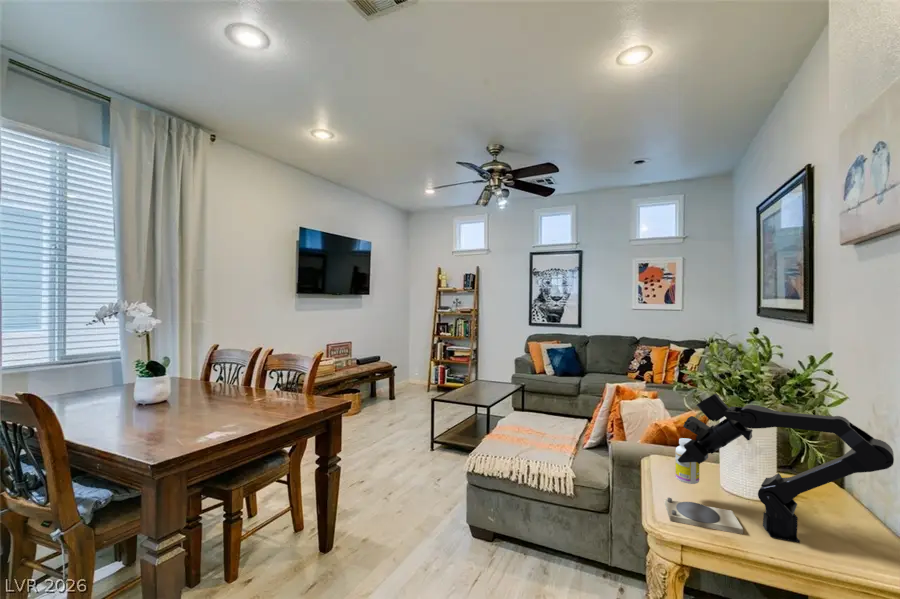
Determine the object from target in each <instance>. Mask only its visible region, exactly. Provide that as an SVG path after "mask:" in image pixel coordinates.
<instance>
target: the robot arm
mask: <svg viewBox="0 0 900 599" xmlns="http://www.w3.org/2000/svg"><path fill="white" fill-rule="evenodd" d="M695 406H696V407H697V408H698V409H699V410H700V411H701V412H702V414H703V415H705V417H706V418H707V419H708V421H712V422H718V421H719V420H721V419H723V418H725V419H723V420H721V421H720V422H718V423H717V424H715V425H711V426H708V425H707V424H706V423H705V422H703V421H701V420H700V419H698V418H697V417H695V416H693V415H691V416H689V417H688V418H687V419H686V420H685V421H684V424H683V428H685V430H688V431H690V432H691V433H693V434H695V435H696V436H695V439H692V440H691V441H689V442H687V443H686V444H685V445H684V447H685V449H686V451H685V452H684V453H683V454H682V455H681V456H680V458H679V459H678V461H679V462H680V463H686V462H697V463H699V465H701V464H702V463H704V462H705V461H706V460H708V458H709V454H711V455H712V454H714V453H716V451H718V450H720V449H721V448H725V447H726V446H727V445H728V444H730V443H731V442H733V441H735V440H736V439H738V438H740V437H741V436H743V438H745V439H746V440H747V441H750V440H751V439H752V438H753V429H757V430H758V429H768V428H769V429H770V428H786V429H795V430H802V431H811V432H821V433H828V434H829V433H830V434H835V436H837V437H838V438H839V439H840V440H842V441H843V442H844V443H845V444H846V445H847V446H848V447H849V448H850V449H849V451H847V452H845V454H844V455H842V456H840V457H837V458H834V459H832V460H830V461H827V462H825V463H822V464H820V465H817V466H814V467H812V468H809V469H807V470H805V471H803V472H800V473H798V474H795V475H792V476H789V477H788V476H787V477H783V476H781V473H779V472H778V473H776V474H774V475H773V476H770V477H765V479H764V480H763V482H762V483H761V487H760V488H759V489H758V492H757V497H758V499H759V500H760V502H761V503H762V504H763V505H764V507H765V511H764V512H763V513H762V527H763V528H764V529H765V531H766V532H767V534H768V536H770V537H771V538H772V539H777V540H783V541H788V542H793V543H801V540H800V539H799V538H798V516H797V515H796V514H795V511H796V510H797V507H798V503H797V502H796V501H795V500H794V499H795V498H796V497H798V496H799V495H801V494H803V493H805V492H808V491H810V490H813V489H816V488H819V487H822V486H823V485H827V484H829V483H832V482H835V481H838V480H840V479H843V478H844V477H845V478H847V477H848V476H850V475H853V474H859V473H872V472H878V471H882V470H888V469H889V468H891V467H892V466H893V465H894V460H895V459H894V458H895V456H894V450H893V448H892V447H891V445H890V444H889V443H887V442H886V441H883V440H881V439H877V438H874V437H873V436H871V435H870V434H869V433H868V432H866V431H864V430H863V429H861V428H859V427H858V426H857V425H855V424H854V423H852V422H851V421H849V420H848V419H847V418H846V417H844V416H840V415H836V416H834V415H833V416H832V415H830V416H829V415H822V414H821V415H820V414H808V413H800V412H799V413H797V412H787V411H778V410H774V409H771V408H768V407H764V406H761V405H756V404H747V405H744V406H730V407H729V406H728V405H727V404H726V403H725V402H724V401H723V400H722V398H721V397H720V395H718V393H713V394H711V395H710V396H708V397H706V398H704V399H703V400H701V401H700V402H698V403H697V404H696V405H695Z"/></svg>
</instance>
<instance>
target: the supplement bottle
mask: <svg viewBox="0 0 900 599" xmlns="http://www.w3.org/2000/svg"><path fill="white" fill-rule="evenodd" d="M691 440H693V439H691V438H685V437H684V438H683V437H680V438H679V439H678V444H679V445H678V446H676V448H675V477H676V480H679V481H680V482H681V483H684V484H689V485H695V484H698V483H699V482H700V464H699V463H697V462H686V463H680V462H679V461H678V459H679V458H680V456H681V455H682V454H683V453H684V452H685V451H686V449H685V447H684V445H685V444H686V443H687V442H689V441H691Z"/></svg>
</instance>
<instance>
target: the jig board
mask: <svg viewBox="0 0 900 599" xmlns="http://www.w3.org/2000/svg"><path fill="white" fill-rule="evenodd" d="M664 506H665V510H666V512H667V515H668V516H667V517H668V519H669V521H670V522H674V523H680V524H684V525H685V524H686V525H689V526H690V525H691V526H695V527H696V526H697V527H700V528H705V529H706V528H707V529H712V530H717V531H723V532H728V533H733V534H738V535H744V529H743V526H742V525H741V523H740V522H739V520H738V518H737V517H736V515H735V513H734V511H733V510H732V509H731V510H730V509H724V508H718V507H714V506H707V505H705V504H701V503H698V502H693V501H677V500H673V498H672V497H667V499H664Z"/></svg>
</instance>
